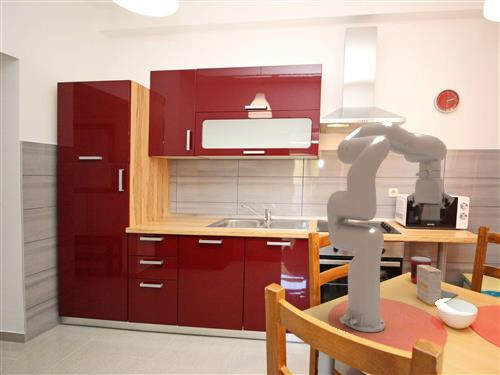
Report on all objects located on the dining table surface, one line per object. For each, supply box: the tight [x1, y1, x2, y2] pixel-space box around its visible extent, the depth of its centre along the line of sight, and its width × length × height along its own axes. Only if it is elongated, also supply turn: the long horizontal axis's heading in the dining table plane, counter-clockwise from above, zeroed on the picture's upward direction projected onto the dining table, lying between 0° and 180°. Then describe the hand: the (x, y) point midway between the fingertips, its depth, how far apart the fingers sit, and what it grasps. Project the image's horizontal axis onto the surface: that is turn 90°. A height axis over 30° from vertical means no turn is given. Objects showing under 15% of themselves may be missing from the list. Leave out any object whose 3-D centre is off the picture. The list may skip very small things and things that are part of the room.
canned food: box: [410, 256, 432, 285], centre depth 135 cm, size 8×8×11 cm
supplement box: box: [416, 265, 442, 307], centre depth 113 cm, size 8×5×13 cm, turn 179°
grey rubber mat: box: [441, 289, 459, 299], centre depth 119 cm, size 12×8×1 cm, turn 126°
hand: (429, 217), depth 121 cm, fingers open, 9 cm apart
